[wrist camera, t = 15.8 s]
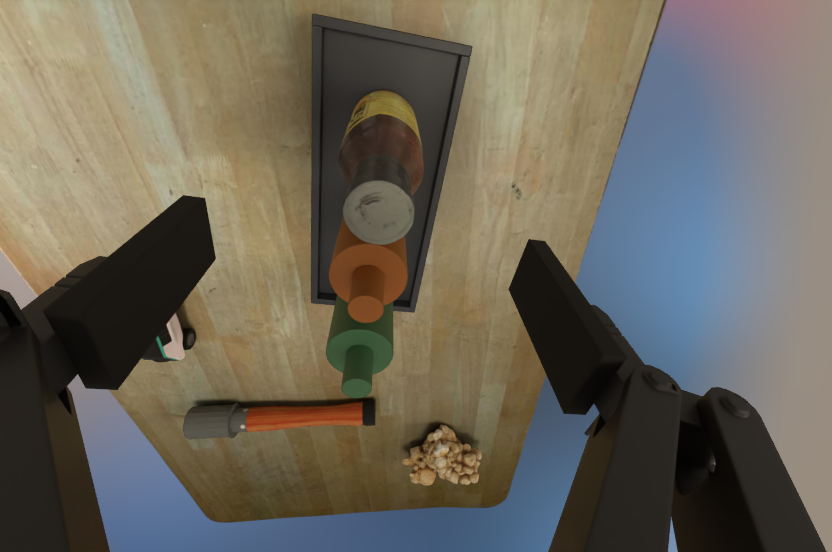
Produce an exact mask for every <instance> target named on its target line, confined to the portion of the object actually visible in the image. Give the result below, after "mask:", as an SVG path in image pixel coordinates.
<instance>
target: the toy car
mask: <svg viewBox="0 0 832 552" xmlns="http://www.w3.org/2000/svg"><path fill="white" fill-rule="evenodd" d="M181 329H182V327H181V324H180V321H179V318H178V316H177V313H176V312H175V314H174V315H173V316H172V318H171V319H170V320H169V322H168V323H167V324H166V326H165V327H164V328H163V330H162V331H161V332H160V334H159V335H158V336H157V338H156V339H155V340H154V342H153V343H152V344H151V346H150V347H149V348H148V350H147V351H146V352H145V354H144V355H143V356H142V359H144V360H153V361H155V362H167V361H179V360H181V359H183V358H184V357H185V353H184V350H188V349H191V348H192V347H193V345H194V343H195V332H194V331H193V330H191V329H184V330H181ZM168 343H169V344H168Z"/></svg>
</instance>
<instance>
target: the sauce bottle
mask: <svg viewBox="0 0 832 552" xmlns="http://www.w3.org/2000/svg"><path fill="white" fill-rule="evenodd" d="M338 164H339V170H340V173H341V175H342V177H343V179H344V181H345V182H346V183H347V185H348V188H347V189H346V192H345V195H344V201H343V207H342V212H343V218H344V221H345V223H346V225H347V227H348V228H349V230H350V232H352V233H353V234H354V235H355V236H356V237H358V238H359V239H361V240H363V241H364V242H367V243H371V244H377V245H384V244H389V243H393V242H395V241H397V240H398V239H401V238H402V237H403V236H404V235H406V234H407V232H408V231H409V230H410V228H411V226H412V224H413V222H414V217H415V206H414V199H413V196H412V195H414V193H415V192H416V190H417V189H418V187H419V185H420V183H421V181H422V177H423V171H424V170H423V169H424V163H423V150H422V145H421V140H420V135H419V130H418V126H417V121H416V117H415V114H414V111H413V109H412V108H411V106H410V105H409V103H408V102H407V101H406V100H405V98H403V97H401V96H400V95H398V94H397V93H395V92H392V91H389V90H386V89H385V90H377V91H374V92H372V93H370V94H368V95H366V96H364V97H363V98H362V99H361V100H360V101H359V102H358V103H357V105H356V107H355V109H354V111H353V114H352V116H351V119H350V122H349V124H348V127H347V130H346V132H345V135H344V138H343V141H342V144H341V147H340V150H339V155H338Z"/></svg>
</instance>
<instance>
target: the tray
mask: <svg viewBox="0 0 832 552" xmlns="http://www.w3.org/2000/svg"><path fill="white" fill-rule="evenodd" d="M312 25H313V26H312V188H311V303H315V304H326V305H335V303H336V298H337V294H336V292H335V291H334V290H333V288H332V286H331V283H330V280H329V268H330V264H331V260H332V257H333V253H334V249H335V245H336V241H337V237H338V233H339V229H340V226H341V222H342V218H343V212H342V207H343V201H344V195H345V192H346V189H347V188H348V185H347V183H346V182H345V181H344V179H343V177H342V175H341V173H340V170H339V164H338V155H339V150H340V147H341V144H342V141H343V138H344V135H345V132H346V130H347V127H348V124H349V122H350V119H351V116H352V114H353V111H354V109H355V107H356V105H357V103H358V102H359V101H360V100H361V99H362V98H363V97H364V96H366V95H368V94H370V93H372V92H374V91H377V90H385V89H386V90H389V91H392V92H395V93H397V94H398V95H400V96H401V97H403V98H405V100H406V101H407V102H408V103H409V105H410V106H411V108H412V109H413V111H414V114H415V117H416V121H417V126H418V130H419V135H420V140H421V145H422V150H423V163H424V169H423V170H424V171H423V177H422V181H421V183H420V185H419V187H418V189H417V190H416V192H415V193H414V195H412V196H413V199H414V206H415V217H414V222H413V224H412V226H411V228H410V230H409V231H408V232H407V234H406V235H405V243H406V258H407V273H408V279H407V284H406V287H405V289H404V291H403V292H402V294H401V295H400V296H399V297H398V298H397V299H396V300H394V301H393V311H402V312H413V313H414V312H415V307H416V303H417V298H418V294H419V289H420V285H421V280H422V276H423V271H424V266H425V262H426V257H427V253H428V248H429V244H430V239H431V234H432V230H433V225H434V221H435V216H436V211H437V207H438V202H439V198H440V193H441V189H442V184H443V179H444V175H445V170H446V166H447V161H448V156H449V152H450V147H451V143H452V138H453V134H454V129H455V124H456V120H457V115H458V111H459V106H460V101H461V97H462V92H463V88H464V83H465V79H466V74H467V69H468V65H469V60H470V56H471V51H472V46H469V45H464V44H459V43H454V42H449V41H444V40H439V39H435V38H430V37H425V36H420V35H415V34H410V33H405V32H401V31H396V30H391V29H386V28H381V27H376V26H371V25H366V24H362V23H357V22H352V21H347V20H342V19H337V18H332V17H327V16H323V15H318V14H312Z"/></svg>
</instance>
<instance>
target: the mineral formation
mask: <svg viewBox="0 0 832 552" xmlns="http://www.w3.org/2000/svg"><path fill="white" fill-rule="evenodd" d="M460 442H461V441H460V440H458V438H456V437H455V433H454V432H453V430H451V429H449V428H448V427H447V426H446V425H440V427H439V429H436V430H435V432H432V433H429V435H428V437H427V439H426V440H425V442H424V444H422V445H421V447H419V446H417V447H415V448H411V449H410V454H411V455H410V456H408V458H404V459H403V465H409V466H410V467H411V468H413V471H412V472H411V474H410V477H411V482H412V483H421V484H423V485H426V486H427V485H431V484H432V483H433V482H434V479H435V478H436V473H437V474H438V475H439V476H440V478H441V479H447V480H448V481H451V482H453V483H455V484H457V483H458V481H460V483H461V484H467V485H468V484H470V482H472V483H476V482H478V478H479V474H478V472H477V468H478V467H479V465H480V461H479V460H480V459H481V458H482V454H481V451H480V450H479V449H477V448H472V449H471V446H470V445H469V444H465V445H463V444H461V443H460Z"/></svg>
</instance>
